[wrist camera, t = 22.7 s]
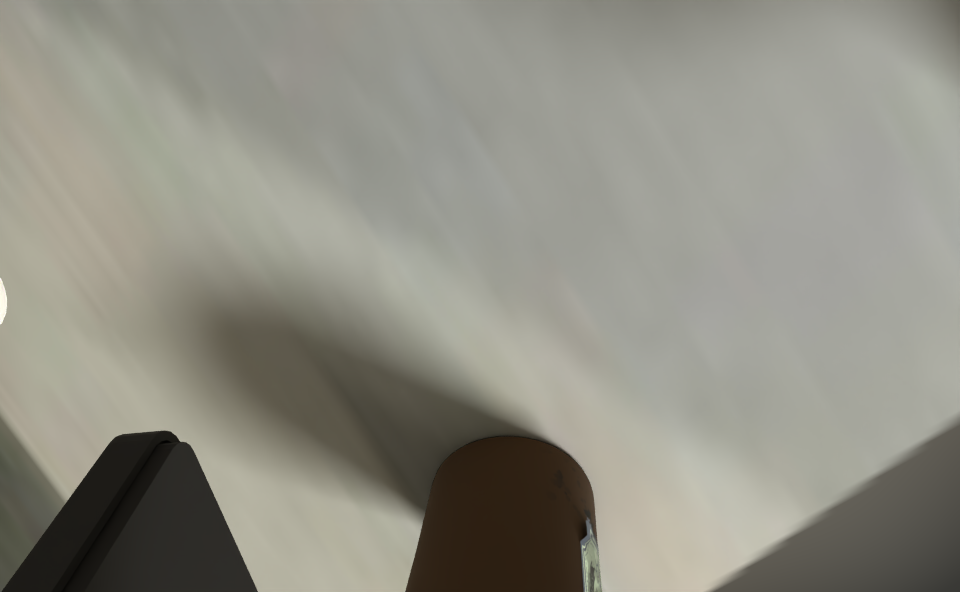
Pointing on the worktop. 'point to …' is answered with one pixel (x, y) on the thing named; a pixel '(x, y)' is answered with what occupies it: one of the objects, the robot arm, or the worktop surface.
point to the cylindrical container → (2, 301)
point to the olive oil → (508, 522)
